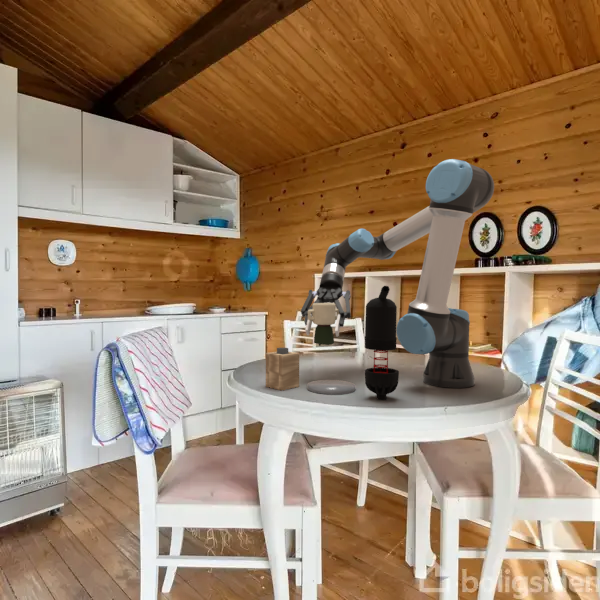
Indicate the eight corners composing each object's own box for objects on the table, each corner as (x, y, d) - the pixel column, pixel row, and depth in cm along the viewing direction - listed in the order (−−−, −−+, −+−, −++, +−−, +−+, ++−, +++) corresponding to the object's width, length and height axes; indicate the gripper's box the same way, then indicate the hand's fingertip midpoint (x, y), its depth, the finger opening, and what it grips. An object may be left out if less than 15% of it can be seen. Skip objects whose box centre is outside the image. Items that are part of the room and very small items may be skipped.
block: (299, 386, 131) (299, 353, 131) (282, 390, 126) (282, 355, 126) (282, 383, 136) (282, 350, 136) (265, 386, 131) (265, 353, 131)
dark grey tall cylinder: (290, 382, 131) (290, 348, 131) (282, 383, 129) (282, 349, 129) (282, 380, 134) (282, 347, 133) (274, 382, 131) (274, 348, 131)
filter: (404, 404, 112) (405, 285, 112) (368, 404, 112) (369, 285, 111) (390, 391, 126) (392, 286, 125) (358, 391, 125) (359, 285, 125)
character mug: (334, 343, 143) (334, 302, 142) (344, 346, 136) (345, 303, 136) (303, 344, 139) (303, 303, 138) (312, 348, 132) (312, 304, 132)
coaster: (364, 388, 129) (365, 384, 129) (335, 397, 119) (335, 392, 119) (327, 381, 139) (327, 377, 139) (297, 388, 129) (297, 384, 129)
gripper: (364, 288, 149) (357, 342, 134) (303, 287, 154) (290, 339, 139) (363, 272, 143) (355, 326, 129) (299, 272, 149) (285, 324, 134)
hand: (321, 333), depth 134 cm, fingers closed on character mug, 8 cm apart
